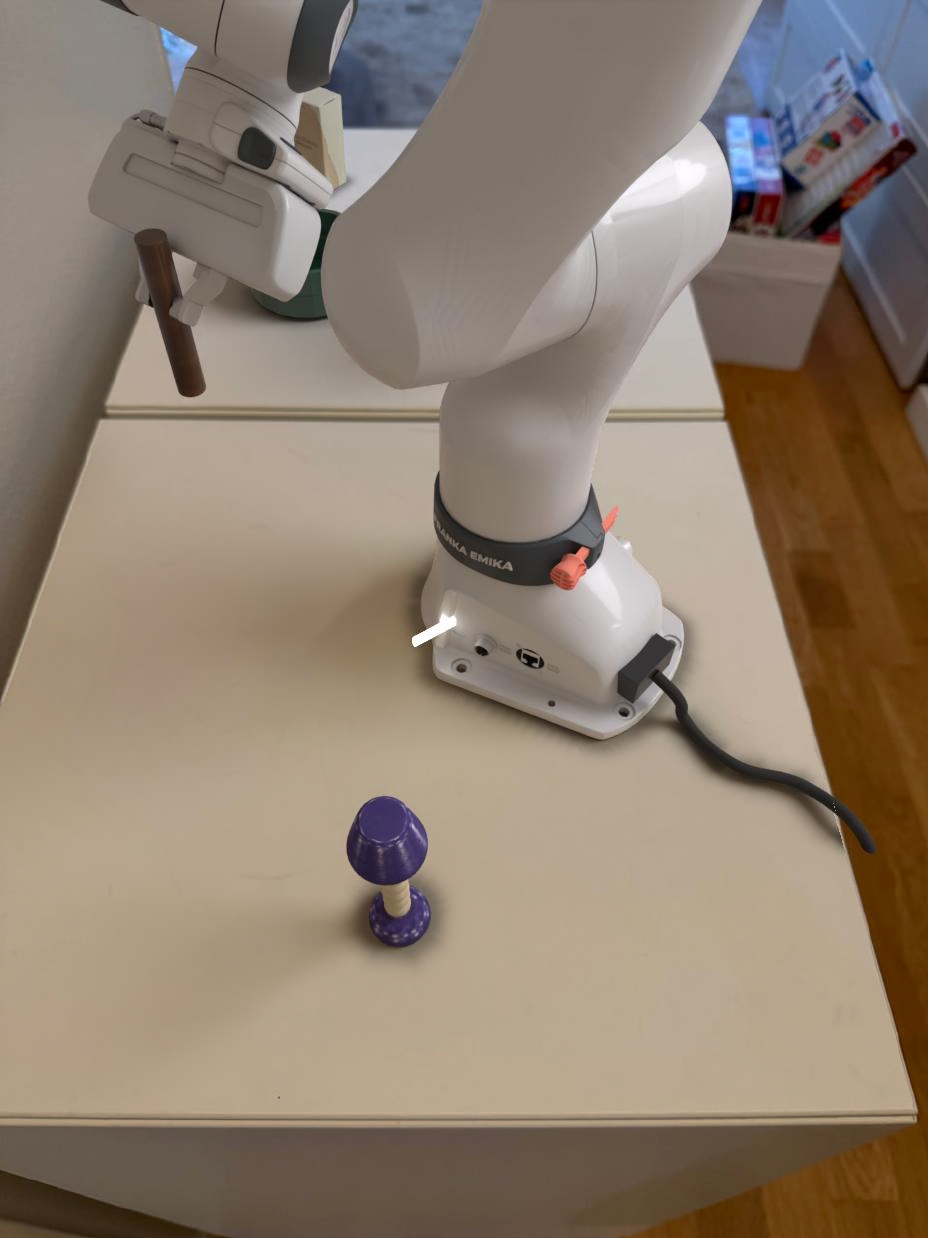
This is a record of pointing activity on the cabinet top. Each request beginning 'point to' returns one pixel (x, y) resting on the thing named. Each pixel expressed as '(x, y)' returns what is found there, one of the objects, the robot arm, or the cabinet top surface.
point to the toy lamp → (391, 868)
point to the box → (322, 134)
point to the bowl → (311, 291)
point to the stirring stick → (162, 293)
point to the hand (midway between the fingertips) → (164, 313)
